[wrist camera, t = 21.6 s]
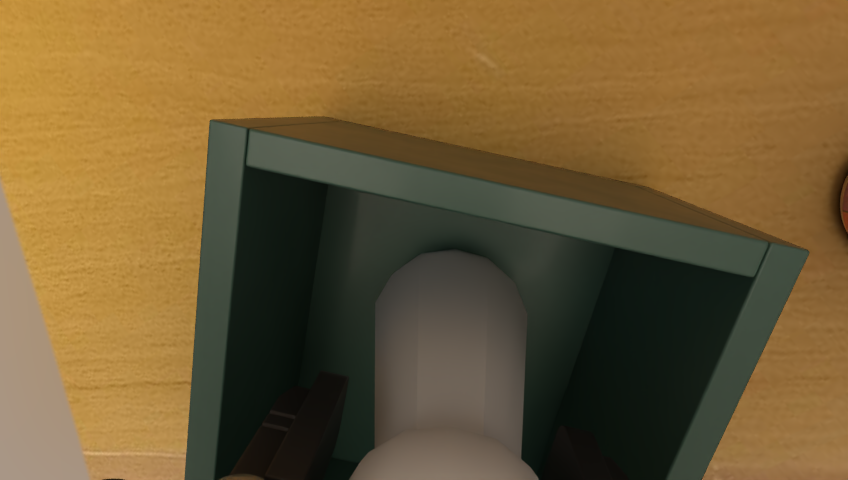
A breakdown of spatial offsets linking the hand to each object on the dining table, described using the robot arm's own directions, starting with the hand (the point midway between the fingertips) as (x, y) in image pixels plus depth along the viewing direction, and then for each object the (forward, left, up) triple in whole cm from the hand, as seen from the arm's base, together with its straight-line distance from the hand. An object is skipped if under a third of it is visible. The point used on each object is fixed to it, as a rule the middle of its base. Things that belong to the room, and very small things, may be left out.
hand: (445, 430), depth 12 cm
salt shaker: (0, 0, -9) cm, 9 cm away
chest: (+2, +1, -9) cm, 9 cm away
